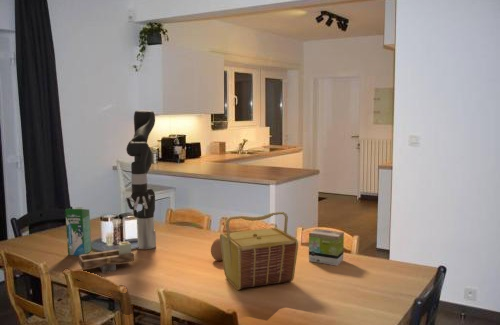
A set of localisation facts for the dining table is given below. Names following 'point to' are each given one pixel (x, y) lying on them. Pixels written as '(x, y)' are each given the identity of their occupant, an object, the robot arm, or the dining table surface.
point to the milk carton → (78, 231)
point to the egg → (216, 250)
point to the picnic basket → (258, 254)
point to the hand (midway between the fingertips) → (140, 216)
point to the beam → (104, 260)
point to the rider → (124, 247)
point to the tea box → (326, 246)
